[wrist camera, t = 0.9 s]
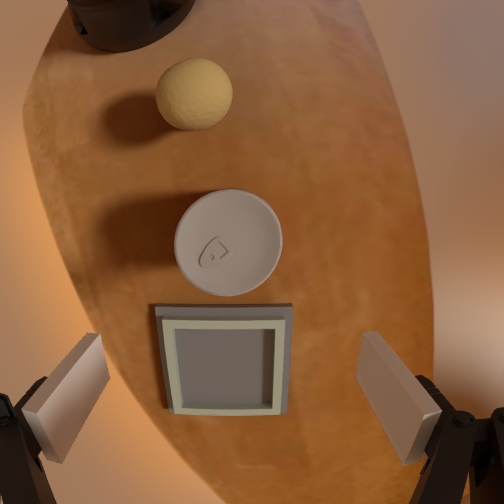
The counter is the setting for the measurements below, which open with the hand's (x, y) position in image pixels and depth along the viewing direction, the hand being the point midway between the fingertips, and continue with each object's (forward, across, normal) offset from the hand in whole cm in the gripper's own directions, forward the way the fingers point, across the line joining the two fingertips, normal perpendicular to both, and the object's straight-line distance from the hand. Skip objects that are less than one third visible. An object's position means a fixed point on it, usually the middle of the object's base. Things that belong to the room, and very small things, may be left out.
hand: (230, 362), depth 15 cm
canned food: (+20, 0, +4) cm, 20 cm away
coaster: (+19, -1, -12) cm, 23 cm away
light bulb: (+20, -3, +16) cm, 26 cm away
